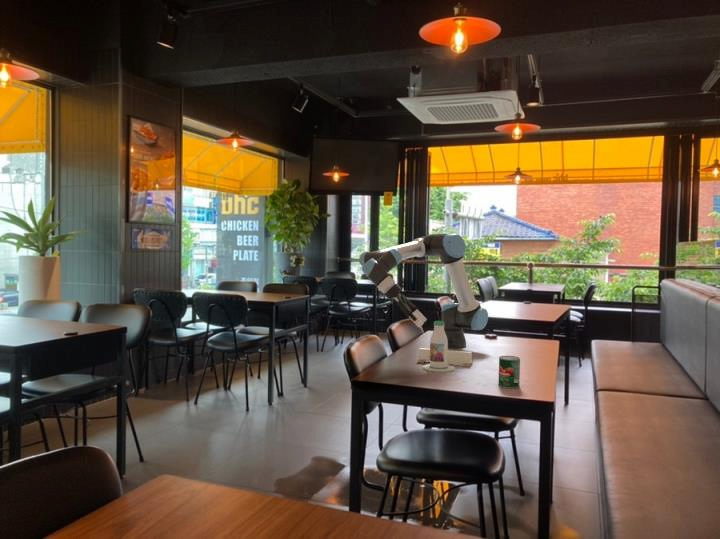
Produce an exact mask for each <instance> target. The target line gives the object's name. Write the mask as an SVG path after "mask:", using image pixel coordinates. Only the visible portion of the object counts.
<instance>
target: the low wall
mask: <svg viewBox="0 0 720 539" xmlns="http://www.w3.org/2000/svg"><path fill="white" fill-rule="evenodd" d="M472 356H473V352H472V351H464V350H463V351H462V350H452V349H451V350H450V349H448V365H452V364H453V365H454V366H455V365H456V366H463V367H464V368H465V367H467V368H470V367H472V365H473V361H472V359H473V358H472ZM424 362H425V363H429V362H430V348H425V347H424V348H422V347H419V348H418V359H417V363H419V364H420V363H421V364H424ZM453 365H452V366H453Z"/></svg>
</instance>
